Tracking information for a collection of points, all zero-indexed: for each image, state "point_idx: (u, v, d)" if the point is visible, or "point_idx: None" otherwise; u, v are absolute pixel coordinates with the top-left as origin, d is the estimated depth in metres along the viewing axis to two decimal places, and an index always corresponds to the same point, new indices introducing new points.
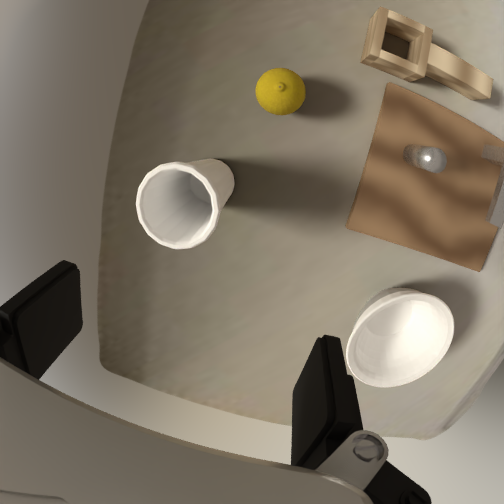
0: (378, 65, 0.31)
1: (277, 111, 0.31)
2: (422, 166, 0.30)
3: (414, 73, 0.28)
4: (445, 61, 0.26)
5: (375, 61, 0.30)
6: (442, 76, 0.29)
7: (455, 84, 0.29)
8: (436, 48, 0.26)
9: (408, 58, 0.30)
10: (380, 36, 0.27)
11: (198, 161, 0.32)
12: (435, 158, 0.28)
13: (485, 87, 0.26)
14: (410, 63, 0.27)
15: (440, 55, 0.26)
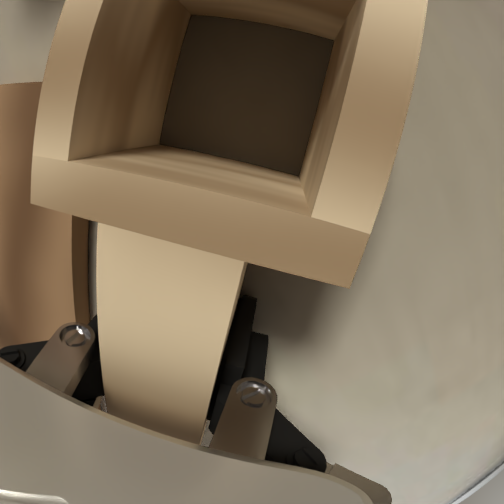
0: None
1: None
2: None
3: None
4: (151, 337, 0.07)
5: None
6: None
7: None
8: (215, 296, 0.06)
9: (206, 157, 0.09)
10: None
11: None
12: None
13: None
14: (65, 111, 0.05)
15: (175, 314, 0.06)
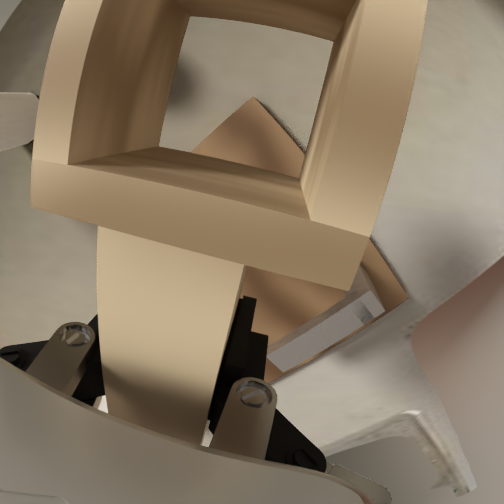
0: None
1: None
2: None
3: None
4: (152, 340, 0.07)
5: None
6: None
7: None
8: (215, 299, 0.06)
9: (206, 159, 0.09)
10: None
11: None
12: None
13: None
14: (64, 115, 0.05)
15: (175, 316, 0.06)
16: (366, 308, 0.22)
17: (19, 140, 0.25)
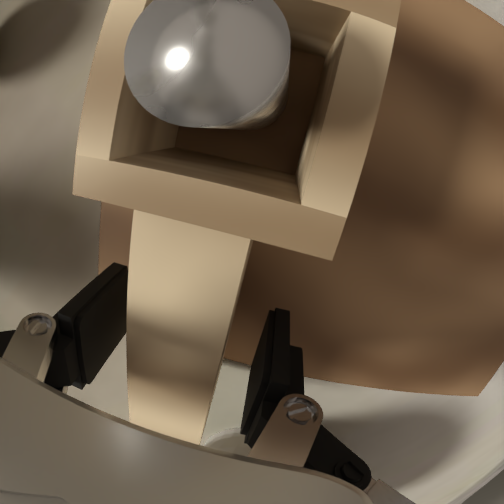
0: None
1: None
2: None
3: None
4: (173, 304, 0.08)
5: None
6: None
7: None
8: (227, 267, 0.08)
9: (216, 158, 0.11)
10: None
11: None
12: (192, 35, 0.04)
13: (153, 429, 0.11)
14: (107, 120, 0.07)
15: (194, 283, 0.08)
16: None
17: None
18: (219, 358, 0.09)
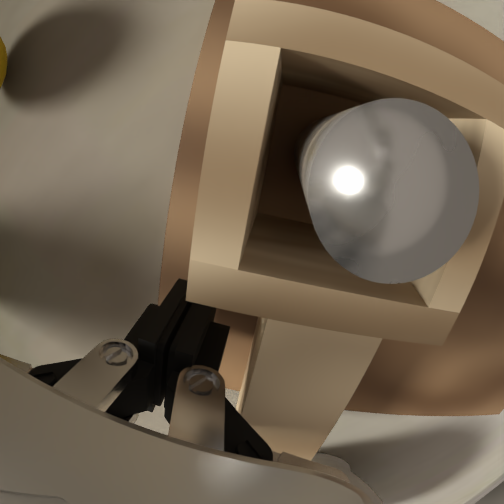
0: None
1: None
2: None
3: None
4: (298, 393, 0.08)
5: None
6: (251, 360, 0.10)
7: (241, 395, 0.12)
8: (357, 361, 0.08)
9: (309, 230, 0.11)
10: (366, 51, 0.05)
11: None
12: (394, 181, 0.04)
13: None
14: (235, 225, 0.07)
15: (323, 376, 0.08)
16: None
17: None
18: (332, 427, 0.09)
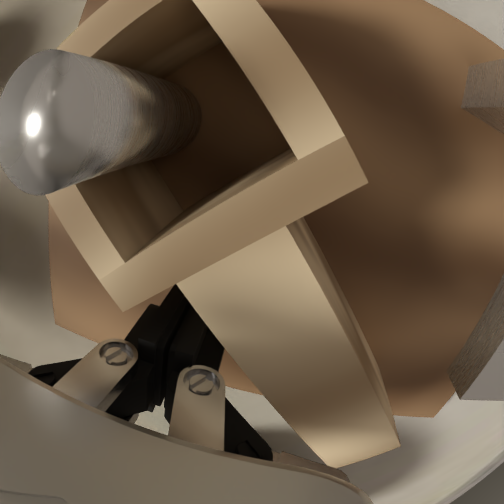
0: None
1: None
2: None
3: None
4: (274, 334, 0.08)
5: None
6: None
7: None
8: (289, 266, 0.07)
9: (219, 190, 0.11)
10: None
11: None
12: (30, 113, 0.04)
13: (346, 451, 0.10)
14: (97, 234, 0.07)
15: (275, 302, 0.07)
16: None
17: None
18: (351, 349, 0.08)
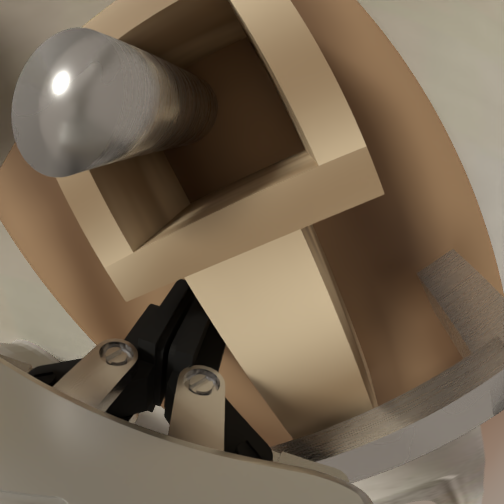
0: None
1: None
2: None
3: None
4: (277, 334, 0.08)
5: None
6: None
7: None
8: (300, 268, 0.07)
9: (230, 185, 0.11)
10: None
11: None
12: (58, 87, 0.04)
13: None
14: (107, 221, 0.07)
15: (282, 303, 0.07)
16: None
17: None
18: (351, 354, 0.08)
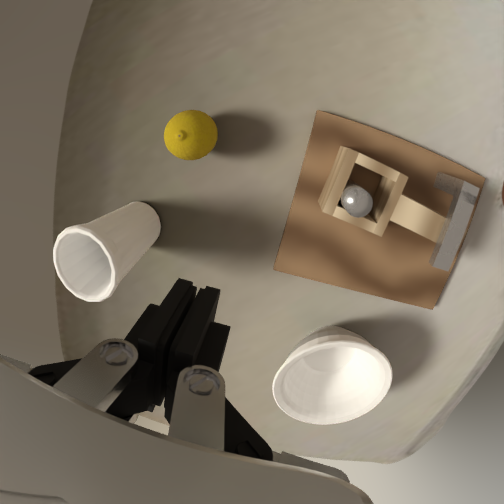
0: None
1: (184, 158, 0.31)
2: None
3: None
4: (412, 216, 0.30)
5: None
6: None
7: None
8: (406, 200, 0.30)
9: (374, 198, 0.34)
10: (339, 189, 0.30)
11: (112, 213, 0.32)
12: (357, 201, 0.28)
13: None
14: (368, 222, 0.31)
15: (408, 209, 0.30)
16: (469, 193, 0.27)
17: (152, 239, 0.38)
18: (428, 209, 0.30)
